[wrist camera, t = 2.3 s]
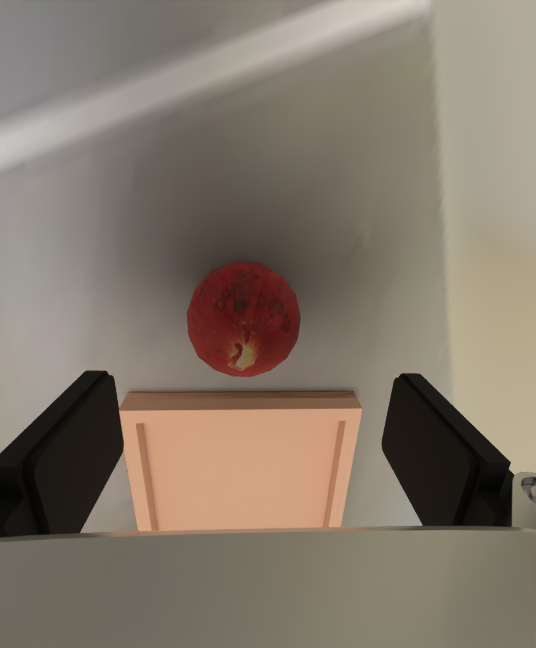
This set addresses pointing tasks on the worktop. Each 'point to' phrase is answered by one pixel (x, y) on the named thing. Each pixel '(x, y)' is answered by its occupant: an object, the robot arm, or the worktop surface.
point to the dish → (239, 458)
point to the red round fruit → (243, 319)
